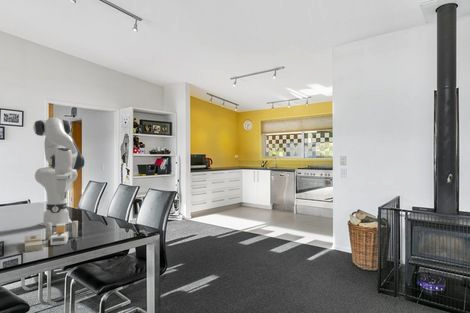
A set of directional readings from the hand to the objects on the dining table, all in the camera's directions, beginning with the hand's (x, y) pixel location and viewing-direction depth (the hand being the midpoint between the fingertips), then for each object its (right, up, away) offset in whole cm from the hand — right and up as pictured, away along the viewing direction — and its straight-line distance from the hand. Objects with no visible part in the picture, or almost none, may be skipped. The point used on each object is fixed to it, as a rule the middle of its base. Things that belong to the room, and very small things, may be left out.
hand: (63, 199), depth 177 cm
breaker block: (+5, -21, -12) cm, 25 cm away
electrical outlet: (-4, -22, -21) cm, 30 cm away
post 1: (-4, -21, -7) cm, 23 cm away
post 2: (+8, -21, -2) cm, 23 cm away
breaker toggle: (+4, -17, -9) cm, 19 cm away
